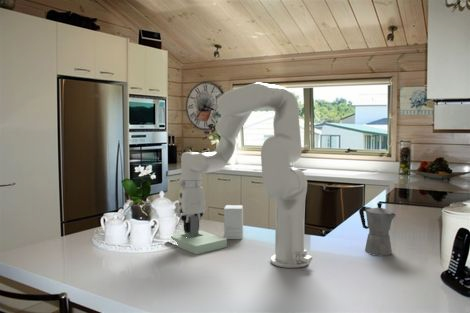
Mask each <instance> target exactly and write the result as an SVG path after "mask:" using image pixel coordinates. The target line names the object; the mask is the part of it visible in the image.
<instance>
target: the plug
mask: <svg viewBox="0 0 470 313" xmlns="http://www.w3.org/2000/svg"><path fill="white" fill-rule="evenodd" d="M189 222H190V232H189V233H188V232H185V231H184V230H183V231H184V233H185V234H188V235H196V234H199V230H200V220H199V216H196V215H194V214H192V215H189Z"/></svg>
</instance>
